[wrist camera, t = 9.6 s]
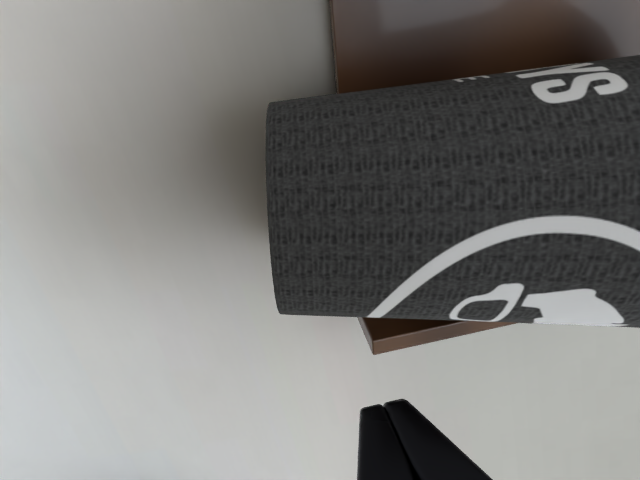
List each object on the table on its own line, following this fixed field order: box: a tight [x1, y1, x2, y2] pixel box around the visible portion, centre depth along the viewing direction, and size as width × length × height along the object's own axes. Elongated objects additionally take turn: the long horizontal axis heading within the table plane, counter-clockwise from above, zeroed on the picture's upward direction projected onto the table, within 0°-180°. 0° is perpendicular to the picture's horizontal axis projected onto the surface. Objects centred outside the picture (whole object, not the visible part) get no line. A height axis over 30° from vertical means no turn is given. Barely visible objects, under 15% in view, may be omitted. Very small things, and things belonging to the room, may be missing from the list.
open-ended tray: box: [329, 0, 640, 355], centre depth 19 cm, size 18×15×3 cm
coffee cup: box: [266, 55, 640, 328], centre depth 16 cm, size 10×10×15 cm
